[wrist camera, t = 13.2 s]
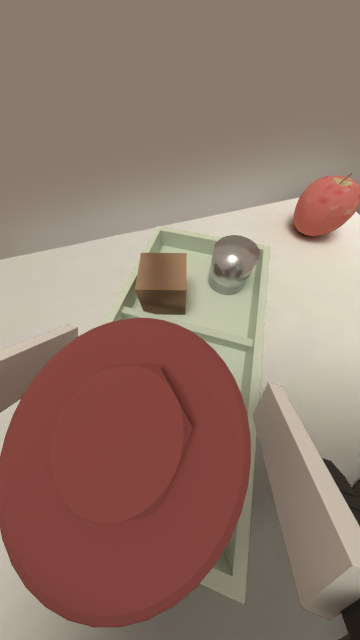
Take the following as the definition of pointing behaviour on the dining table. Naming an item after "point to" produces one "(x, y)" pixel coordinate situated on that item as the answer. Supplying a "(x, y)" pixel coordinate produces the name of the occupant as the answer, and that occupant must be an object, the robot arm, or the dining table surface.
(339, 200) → the apple
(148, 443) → the mechanical component
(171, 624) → the dining table surface
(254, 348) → the tray
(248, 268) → the metal ellipsoid
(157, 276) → the walnut block
